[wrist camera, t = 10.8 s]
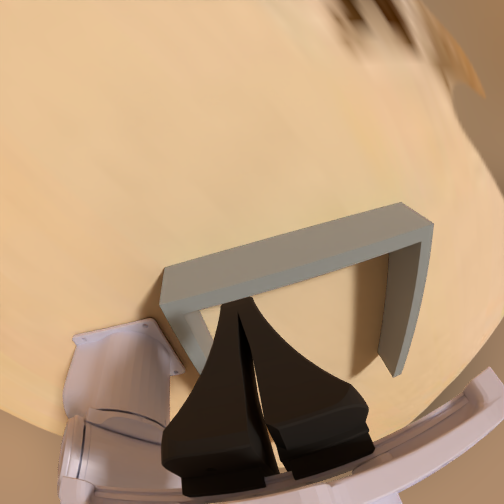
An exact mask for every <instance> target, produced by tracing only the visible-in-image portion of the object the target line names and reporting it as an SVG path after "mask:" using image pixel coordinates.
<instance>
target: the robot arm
mask: <svg viewBox="0 0 504 504" xmlns="http://www.w3.org/2000/svg"><path fill="white" fill-rule="evenodd" d="M144 324H147V325H144ZM72 340H73V342H74V343H75V344H76V345H77V346H76V349H75V352H74V355H73V358H72V361H71V364H70V367H69V371H68V374H67V377H66V381H65V384H64V388H63V405H64V409H65V412H66V415H67V417H68V421H67V424H66V427H65V431H64V435H63V440H62V445H61V450H60V457H59V465H58V485H57V490H58V497H59V498H60V500H61V503H60V504H208V503H216V504H402V501H401V499H400V497H399V494H398V493H399V492H401V491H403V490H405V489H407V488H409V487H411V486H412V485H414V484H416V483H417V482H420V481H421V480H423V479H425V478H426V477H428V476H430V475H431V474H433V473H435V472H436V471H438V470H439V469H441V468H442V467H444V466H446V465H447V464H449V463H450V462H451V461H453V460H454V459H456V458H457V457H459V456H460V455H461V454H463V453H464V452H465V451H467V450H468V449H469V448H471V447H472V446H473V445H475V444H476V443H477V442H478V441H480V440H481V439H482V438H483V437H485V436H486V435H487V434H488V433H489V432H491V431H492V430H493V429H494V428H495V427H496V426H497V425H498V424H499V423H500V422H501V421H503V419H504V385H503V383H502V382H501V381H500V380H499V378H498V377H497V375H496V374H495V373H494V372H493V370H492V369H491V368H490V367H487V368H486V369H485V370H484V371H482V372H481V373H480V374H478V375H477V376H476V377H474V378H473V379H472V380H471V381H470V382H469V383H468V384H467V385H466V387H465V388H464V391H463V392H461V393H460V394H459V395H457V396H456V397H454V398H453V399H451V400H450V401H448V402H447V403H445V404H443V405H442V406H440V407H439V408H437V409H436V410H434V411H432V412H430V413H429V414H427V415H425V416H424V417H422V418H420V419H418V420H417V421H415V422H413V423H411V424H409V425H407V426H405V427H404V428H402V429H400V430H398V431H396V432H394V433H392V434H390V435H387V436H385V437H383V438H381V439H379V440H377V441H374V442H372V440H371V438H370V435H369V433H368V432H369V428H368V426H367V424H366V418H367V415H368V412H369V407H368V406H367V404H366V402H365V400H364V399H363V398H362V396H361V395H360V394H359V393H358V391H357V390H356V389H355V388H354V387H353V386H352V385H351V384H349V383H347V382H345V381H343V380H341V379H339V378H337V377H335V376H333V375H331V374H329V373H328V372H326V371H324V370H323V369H321V368H319V367H318V366H316V365H315V364H314V363H312V362H311V361H309V360H308V359H306V358H305V357H304V356H302V355H301V354H300V353H298V352H297V351H296V350H295V349H294V348H292V347H291V346H290V345H289V344H288V343H287V342H286V341H285V340H284V339H283V338H282V337H281V336H280V335H279V334H278V333H277V332H276V331H275V330H274V329H273V328H272V327H271V325H270V324H269V323H268V322H267V320H266V319H265V318H264V317H263V315H262V314H261V312H260V311H259V309H258V308H257V306H256V304H255V302H254V300H253V298H252V297H250V296H249V297H246V298H242V299H238V300H235V301H231V302H227V303H224V304H222V305H221V309H220V316H219V321H218V326H217V330H216V334H215V337H214V341H213V344H212V347H211V350H210V353H209V356H208V358H207V361H206V363H205V366H204V368H203V370H202V373H201V375H200V377H199V379H198V381H197V383H196V384H195V386H194V388H193V390H192V392H191V393H190V395H189V397H188V398H187V400H186V401H185V403H184V404H183V406H182V407H181V409H180V410H179V412H178V413H177V414H176V416H175V417H174V418H173V419H172V421H171V422H170V376H173V375H178V374H183V373H185V367H184V366H183V364H182V363H181V361H180V360H179V358H178V357H177V355H176V353H175V352H174V350H173V349H172V347H171V346H170V344H169V342H168V341H167V339H166V337H165V336H164V334H163V332H162V331H161V329H160V327H159V326H158V324H157V322H156V321H155V320H154V319H152V318H148V319H143V320H139V321H135V322H131V323H127V324H122V325H118V326H113V327H109V328H105V329H100V330H96V331H91V332H86V333H82V334H77V335H74V336H73V338H72ZM253 362H254V364H253ZM254 367H255V371H254ZM255 372H256V377H257V382H258V387H259V392H260V397H261V403H262V409H263V413H262V409H261V406H260V402H259V397H258V392H257V385H256V378H255ZM263 415H264V417H263ZM266 426H267V428H268V430H269V432H270V434H271V436H272V438H273V440H274V442H275V444H276V447H277V450H278V454H279V458H280V461H281V462H282V463H283V465H284V466H285V468H286V470H287V472H285V473H281V474H280V472H279V470H278V466H277V463H276V459H275V456H274V453H273V449H272V446H271V442H270V439H269V435H268V432H267V428H266ZM351 470H353V471H352V475H349V476H346V477H344V478H340V479H337V480H333V481H330V482H326V483H318V484H313V483H316V482H320V481H323V480H326V479H329V478H332V477H334V476H338V475H340V474H343V473H346V472H348V471H351ZM310 484H312V485H310ZM306 485H308V486H306ZM218 502H221V503H218Z"/></svg>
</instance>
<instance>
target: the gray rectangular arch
mask: <svg viewBox="0 0 504 504" xmlns="http://www.w3.org/2000/svg"><path fill="white" fill-rule="evenodd" d="M433 227H434V223H432V222H431V221H429V220H428V219H426V218H425V217H423V216H422V215H420V214H419V213H417V212H416V211H414V210H413V209H411V208H409V207H408V206H406V205H405V204H403V203H402V202H400V203H396V204H393V205H389V206H385V207H381V208H378V209H374V210H370V211H366V212H363V213H359V214H355V215H352V216H348V217H344V218H341V219H337V220H333V221H330V222H326V223H322V224H319V225H315V226H311V227H308V228H304V229H300V230H297V231H293V232H289V233H286V234H282V235H279V236H275V237H271V238H268V239H264V240H261V241H257V242H253V243H250V244H246V245H243V246H239V247H236V248H232V249H229V250H225V251H221V252H218V253H214V254H211V255H207V256H204V257H200V258H197V259H193V260H190V261H186V262H183V263H179V264H176V265H172V266H169V267H165V269H164V275H163V281H162V288H161V295H160V302H159V306H160V308H161V309H162V311H163V313H164V315H165V317H166V319H167V320H168V322H169V324H170V326H171V328H172V329H173V331H174V333H175V335H176V336H177V338H178V340H179V341H180V343H181V345H182V347H183V348H184V350H185V352H186V353H187V355H188V357H189V358H190V360H191V361H192V363H193V365H194V366H195V368H196V369H197V371H198V373H199V374H200V375H201V373H202V370H203V368H204V366H205V363H206V361H207V358H208V356H209V353H210V350H211V347H212V344H213V339H212V337H211V335H210V333H209V330H208V328H207V326H206V324H205V322H204V320H203V317H202V315H201V313H200V311H199V310H201V309H205V308H208V307H212V306H216V305H220V304H223V303H227V302H231V301H234V300H238V299H242V298H245V297H249V296H252V295H256V294H259V293H263V292H266V291H270V290H273V289H277V288H280V287H283V286H287V285H290V284H293V283H297V282H300V281H303V280H307V279H310V278H313V277H316V276H320V275H323V274H326V273H329V272H332V271H335V270H339V269H342V268H345V267H348V266H351V265H354V264H357V263H360V262H363V261H366V260H369V259H372V258H375V257H378V256H381V255H384V254H387V253H389V265H388V277H387V288H386V298H385V306H384V314H383V322H382V329H381V335H380V341H379V347H378V354H379V355H380V357H381V358H382V360H383V362H384V363H385V365H386V367H387V368H388V370H389V372H390V373H391V375H392V377H393V378H394V377H396V376H398V375H400V374H401V373H402V370H403V367H404V364H405V361H406V358H407V355H408V352H409V348H410V345H411V341H412V338H413V334H414V331H415V327H416V323H417V319H418V315H419V311H420V306H421V302H422V297H423V292H424V287H425V282H426V277H427V271H428V265H429V259H430V252H431V244H432V236H433Z"/></svg>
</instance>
